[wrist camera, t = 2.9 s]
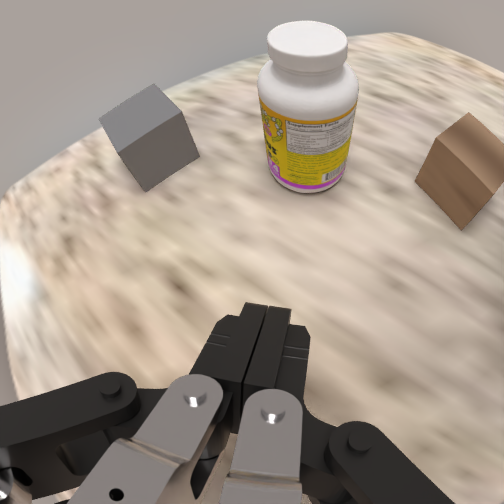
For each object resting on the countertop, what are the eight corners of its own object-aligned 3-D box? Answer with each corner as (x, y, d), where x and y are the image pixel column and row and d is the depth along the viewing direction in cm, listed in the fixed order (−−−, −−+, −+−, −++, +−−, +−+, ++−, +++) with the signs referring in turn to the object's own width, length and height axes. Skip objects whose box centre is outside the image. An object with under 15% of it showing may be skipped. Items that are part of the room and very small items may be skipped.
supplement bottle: (271, 135, 28) (256, 14, 17) (342, 139, 27) (357, 17, 16) (264, 195, 26) (242, 64, 14) (345, 200, 25) (373, 70, 13)
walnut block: (447, 153, 26) (468, 112, 20) (489, 196, 23) (519, 160, 18) (414, 181, 25) (436, 137, 19) (460, 230, 23) (493, 194, 17)
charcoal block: (172, 125, 31) (154, 83, 25) (200, 156, 28) (181, 111, 23) (124, 157, 30) (98, 118, 24) (146, 193, 28) (117, 153, 22)
